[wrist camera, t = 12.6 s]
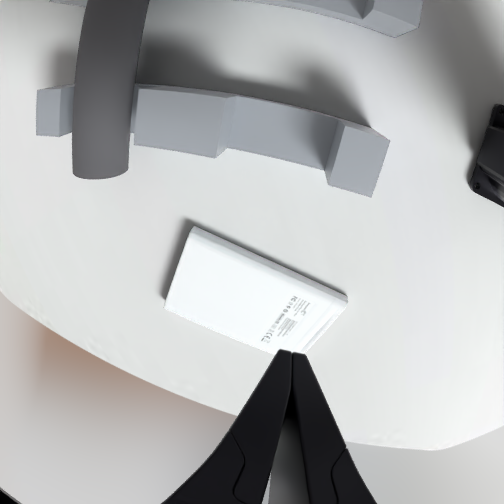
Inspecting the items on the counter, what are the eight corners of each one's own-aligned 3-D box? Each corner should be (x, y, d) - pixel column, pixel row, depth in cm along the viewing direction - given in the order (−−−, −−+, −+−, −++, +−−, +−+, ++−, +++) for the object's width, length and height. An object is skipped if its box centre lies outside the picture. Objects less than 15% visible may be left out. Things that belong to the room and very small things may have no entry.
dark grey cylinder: (181, -71, 9) (157, -94, 6) (138, 164, 17) (108, 182, 14) (130, -64, 9) (101, -81, 6) (94, 157, 18) (61, 174, 15)
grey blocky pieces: (403, -10, 10) (428, -30, 7) (357, 174, 17) (371, 199, 14) (97, -34, 11) (61, -46, 7) (73, 122, 18) (34, 136, 14)
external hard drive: (196, 221, 21) (347, 291, 23) (169, 297, 26) (295, 351, 27) (189, 232, 20) (349, 305, 21) (162, 309, 24) (294, 365, 26)
